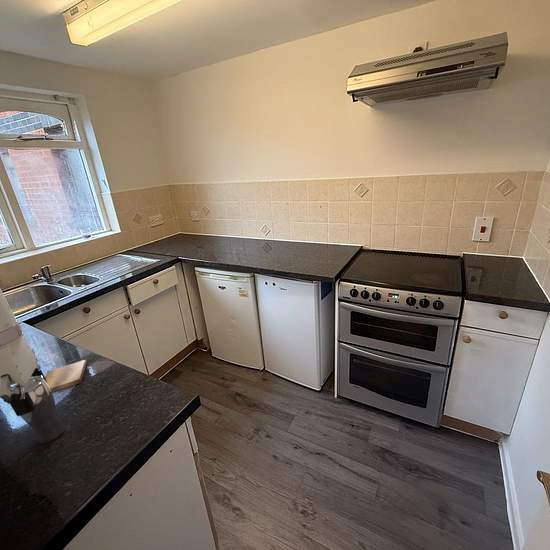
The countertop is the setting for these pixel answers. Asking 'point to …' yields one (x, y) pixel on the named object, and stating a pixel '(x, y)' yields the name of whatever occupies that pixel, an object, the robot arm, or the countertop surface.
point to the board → (65, 376)
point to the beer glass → (42, 411)
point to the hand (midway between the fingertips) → (33, 398)
